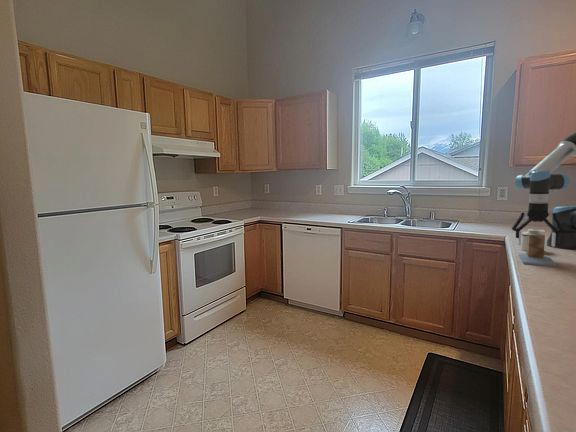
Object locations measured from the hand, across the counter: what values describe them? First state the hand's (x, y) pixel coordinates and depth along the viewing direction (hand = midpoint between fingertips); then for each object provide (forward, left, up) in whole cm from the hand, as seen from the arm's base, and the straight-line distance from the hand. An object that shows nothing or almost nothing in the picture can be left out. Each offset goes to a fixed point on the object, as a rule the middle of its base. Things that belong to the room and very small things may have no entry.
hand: (535, 245), depth 159 cm
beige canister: (0, 0, -5) cm, 5 cm away
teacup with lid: (-1, -21, -7) cm, 22 cm away
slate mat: (0, +6, -6) cm, 9 cm away
